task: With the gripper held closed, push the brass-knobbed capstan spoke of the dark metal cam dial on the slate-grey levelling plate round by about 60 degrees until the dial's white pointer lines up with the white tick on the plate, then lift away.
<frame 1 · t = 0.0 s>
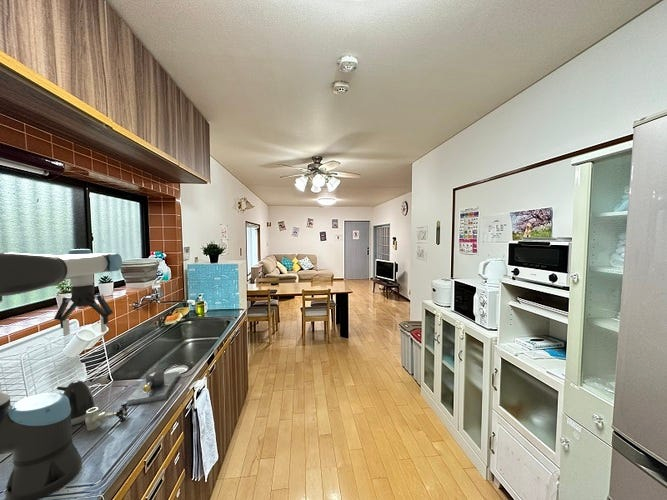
hand: (85, 333, 123), 28 cm above the worktop, fingers open, 13 cm apart
pump dispenser: (77, 421, 107), on the worktop
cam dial: (152, 382, 126), point 5 cm above the worktop, hinge at 0.0°
valve: (106, 425, 105), on the worktop
stand base: (155, 388, 129), on the worktop
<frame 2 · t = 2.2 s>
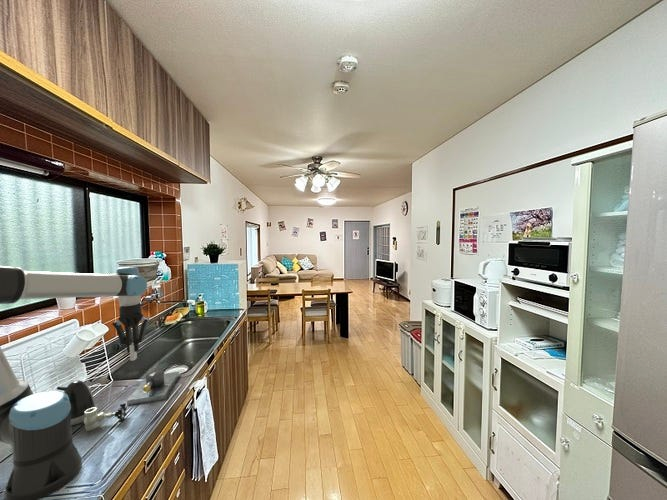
hand: (133, 359, 120), 18 cm above the worktop, fingers closed
nothing on the worktop moved.
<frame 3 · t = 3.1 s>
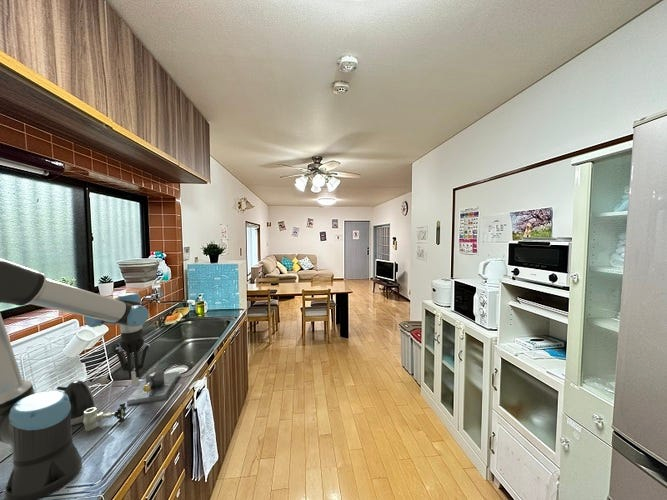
hand: (135, 384, 120), 7 cm above the worktop, fingers closed
nothing on the worktop moved.
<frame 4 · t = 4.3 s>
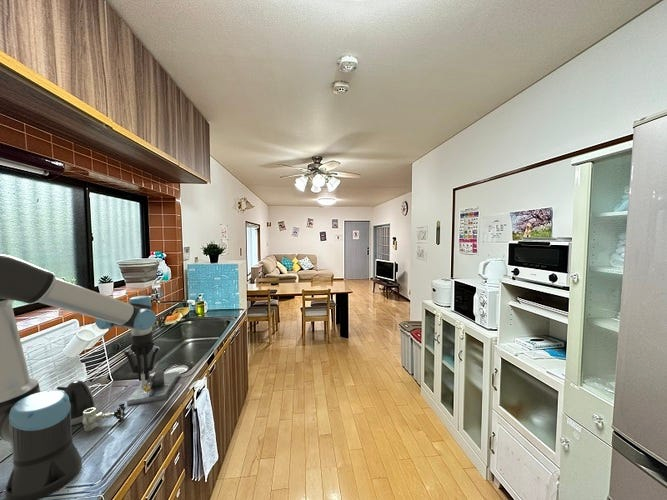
hand: (144, 387, 121), 5 cm above the worktop, fingers closed
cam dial: (152, 381, 126), point 5 cm above the worktop, hinge at 0.6°, touching gripper
everything else where it was.
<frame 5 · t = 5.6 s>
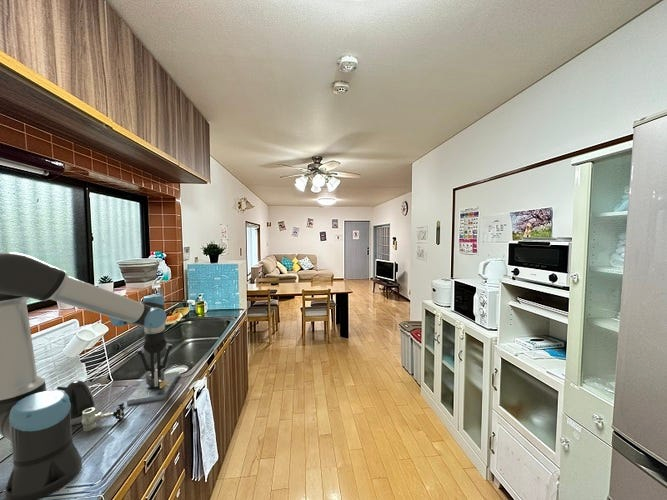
hand: (156, 385, 123), 5 cm above the worktop, fingers closed
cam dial: (157, 380, 127), point 5 cm above the worktop, hinge at 34.7°, touching gripper
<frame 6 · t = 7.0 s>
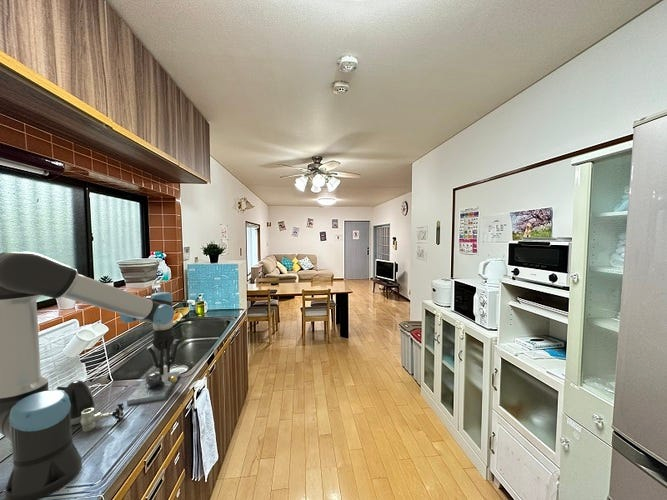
hand: (164, 380, 125), 6 cm above the worktop, fingers closed
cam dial: (161, 378, 128), point 5 cm above the worktop, hinge at 61.6°
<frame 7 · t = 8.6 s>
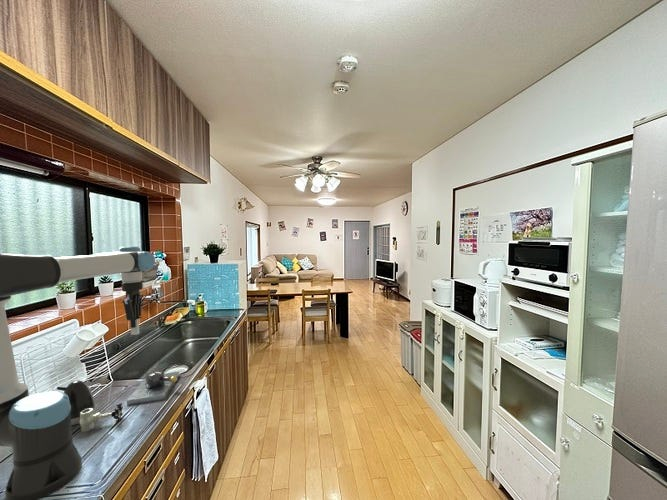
hand: (135, 333, 127), 26 cm above the worktop, fingers closed
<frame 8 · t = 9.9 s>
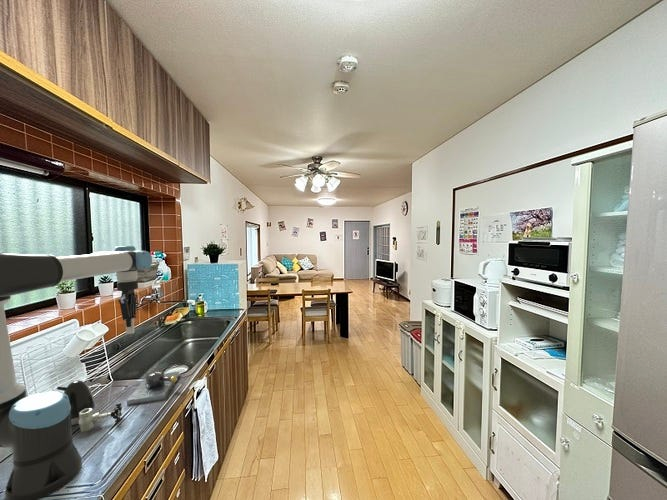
hand: (130, 333, 127), 26 cm above the worktop, fingers closed
at the end: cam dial at +62° (first picture: +0°); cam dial touching nothing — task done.
